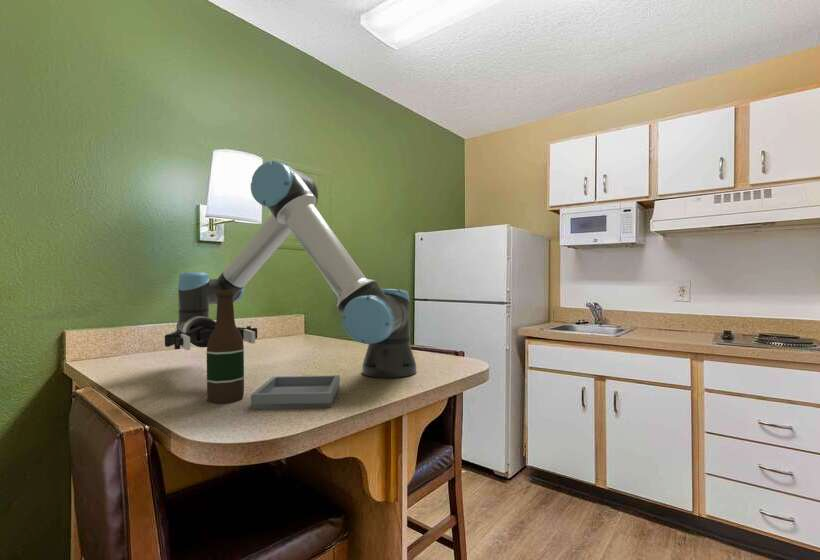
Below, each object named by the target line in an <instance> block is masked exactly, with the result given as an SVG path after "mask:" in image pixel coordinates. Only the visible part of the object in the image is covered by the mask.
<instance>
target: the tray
mask: <svg viewBox="0 0 820 560" xmlns="http://www.w3.org/2000/svg"><path fill="white" fill-rule="evenodd" d="M340 378H341V375H340V374H337V375H336V374H335V375H334V374H333V375H290V376H289V375H287V376H286V375H283V376H279V375H278V376H274V375H273V376H272V377H270V378H269V379H268V380H267V381H265V382H264V383H263V384H262V385H261V386H260V387H259V388H257V389H256V390H255V391H254V392H253V393H251V394H250V409H251V410H286V409H287V410H288V409H289V410H291V409H295V410H296V409H324V408H325V409H330V408H332V407H333V406H332V405H333V403H334V402H335V399H336V397H337V395H338V393H339V390H340V388H341V379H340Z"/></svg>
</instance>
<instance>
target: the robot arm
mask: <svg viewBox="0 0 820 560" xmlns="http://www.w3.org/2000/svg"><path fill="white" fill-rule="evenodd" d="M250 193H251V195H252V198H253V199H254V200H255V201H256V202H257V203H258V204H259V205H261V206H262V207H267V208H268V209H269V211H270V213H271V215H270V216H269V217H268V219H266V221H264V223H263V224H262V225H261V226H260V228H259V229H258V230H257V231H256V232H255V234H253V236H252V237H251V238H250V240H248V242H247V243H246V244H245V245H244V247H243V248H242V249H241V250H240V251H239V252H238V254H237V255H236V256H235V257H234V258H233V260H232V261H231V262H230V263H229V264H228V266H227V267H226V268H225V269H224V271H223V272H221V274H220V275H219V276H218V277H217V278H214V279H213V278H209V274H208V273H207V272H200V271H199V272H198V271H196V272H195V271H194V272H193V271H192V272H189V271H188V272H181V273H180V274H179V275H178V281H177V282H178V285H177V291H178V294H177V295H178V320H177V323H176V326H175V328H176V330H175V331H172V332H171V333H168V334H165V335H164V347H165V348H166V347H167V348H170V347H172V346H174V350H181V348H182V349H184V350H185V351H189V350H191V345H193V346H195V347H197V348H207V343H208V340H209V337H210V335H211V333H212V332H213V330H214V329H215V325H216V320H213V319H212V318H209V316H210V315H209V314H210V313H209V311H210V310H209V309H210V308H209V306H211V305H217V300H218V297H217V296H216V294H217V291H221V290H231V291H233V293H234V296H233V303H236V302H239V301H240V300H241V299H242V298H243V296H244V292H245V286H246V285H247V284H248V282H250V281H251V279H252V278H253V277H254V276H255V274H257V272H258V271H259V270H260V269H261V268H262V266H264V264H265V263H266V262H267V261H268V260H269V258H271V256H272V255H273V254H274V253H275V252H276V250H277V249H278V248H279V247H280V246H281V245H282V244H283V242H284V241H285V240H286V239H287V238H288V237H289V236H290V234H291V233H292V234H293V235H294V237H295V238H296V240H297V241H298V242H299V244H300V245H301V247H302V248H303V250H304V251H305V252H306V254H307V255H308V257H309V258H310V260H311V261H312V262H313V264H314V265H315V266H316V268H317V270H318V271H319V272H320V274H321V275H322V277H323V278H324V280H325V281H326V282H327V284H328V286H329V287H330V288H331V290H332V291H333V292H334V294H335V295H336V298H337V304H336V307H337V309H338V310H339V312H340V313H341V315H342V321H341V322H342V325H343V328H344V331H345V332H346V334H347V335H348V336H349V337H350V338H351V339H352V340H354V341H355V342H358V343H359V344H364V345H365V344H367V349H366V352H365V356H364V359H363V362H362V365H361V366H362V369H361V373H362V374H363V375H365V376H368V377H371V378H382V379H383V378H384V379H385V378H387V379H391V378H393V379H394V378H402V377H408V376H412V375H414V374H416V373H417V362H416V360H415V356H414V353H413V351H412V347H411V337H410V335H411V333H410V332H411V328H410V327H411V326H410V323H411V321H410V320H411V319H410V309H411V307H410V306H411V300H410V293H409V292H408V291H407V290H403V289H395V288H381V287H380V286H379V284H378V283H377V281H376V280H375V279H370V278H367V277H366V276H365V275H364V273H363V272H362V270H361V269H360V268H359V266H358V265H357V264H356V262H355V261H354V259H353V257H352V256H351V255H350V254H349V252H348V251H347V249H346V248H345V247H344V245H343V243H342V242H341V240H339V238H338V237H337V235H336V234H335V233H334V232H333V230H332V229H331V227H330V225H329V224H328V223H327V221H326V220H325V218H324V217H323V216H322V214H321V213H320V212H319V210H318V209H317V204H318V201H319V189H318V187H317V184H316V182H315V181H314V179H313V178H311V177H310V176H309V175H308V174H306V173H303V172H301V171H299V170H297V169H294V168H292V167H290V166H289V164H287V163H284V162H280V161H278V160H277V161H276V160H271V161H266V162H263V163H262V164H261V165H259V166H258V167H257V169H255V170H254V173H253V174H252V177H251V182H250ZM236 327H237V326H236ZM237 329H238V330H239V332H240V333H241V336H242V338H243V342H247V343H249V344H256V339H258V328H256V327H251V325H248V326H246V327H239V326H238V327H237Z"/></svg>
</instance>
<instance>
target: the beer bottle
mask: <svg viewBox="0 0 820 560" xmlns="http://www.w3.org/2000/svg"><path fill="white" fill-rule="evenodd" d="M216 296H217V297H218V300H217V304H216V305H217V306H216V316H215V317H216V319H215V322H216V325H215V329H214V330H213V332H212V333H211V335H210V337H209V340H208V343H207V347H206V396H207V402H208V403H209V404H215V405H221V404H233V403H235V402H238V401H241V400H242V399H243V398H244V393H245V355H244V354H245V347H244V339H243V338H242V336H241V333H240V332H239V330H238V329H237V325H236V321H235V309H234V302H233V296H234V293H233V291H231V290H221V291H217V294H216Z"/></svg>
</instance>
